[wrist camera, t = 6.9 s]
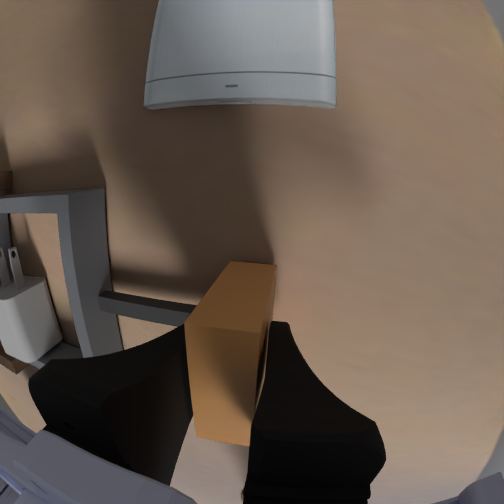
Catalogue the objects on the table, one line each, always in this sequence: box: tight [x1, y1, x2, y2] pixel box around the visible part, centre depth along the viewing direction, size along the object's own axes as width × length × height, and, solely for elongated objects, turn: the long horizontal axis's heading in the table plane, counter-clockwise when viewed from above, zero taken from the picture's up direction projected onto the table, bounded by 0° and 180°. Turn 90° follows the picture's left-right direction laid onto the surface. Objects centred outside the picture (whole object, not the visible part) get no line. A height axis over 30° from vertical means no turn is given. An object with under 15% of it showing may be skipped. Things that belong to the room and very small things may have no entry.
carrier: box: [0, 189, 277, 446], centre depth 12 cm, size 11×19×6 cm, turn 87°
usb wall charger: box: [0, 246, 63, 363], centre depth 14 cm, size 4×7×4 cm, turn 3°
